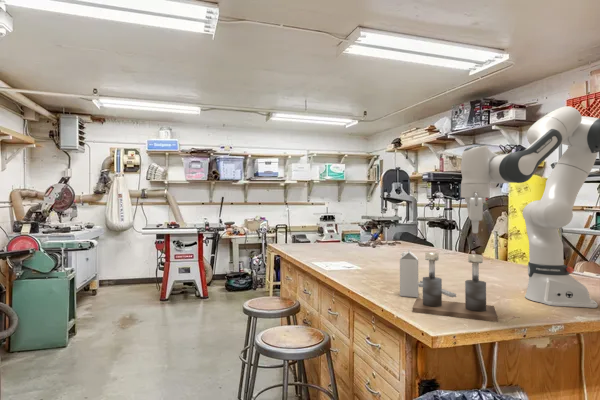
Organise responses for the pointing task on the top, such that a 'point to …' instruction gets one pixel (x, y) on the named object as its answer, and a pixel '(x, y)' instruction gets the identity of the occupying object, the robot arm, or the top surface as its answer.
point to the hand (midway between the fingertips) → (475, 233)
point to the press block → (469, 309)
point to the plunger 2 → (475, 265)
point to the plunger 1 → (431, 262)
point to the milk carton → (409, 274)
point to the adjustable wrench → (442, 290)
